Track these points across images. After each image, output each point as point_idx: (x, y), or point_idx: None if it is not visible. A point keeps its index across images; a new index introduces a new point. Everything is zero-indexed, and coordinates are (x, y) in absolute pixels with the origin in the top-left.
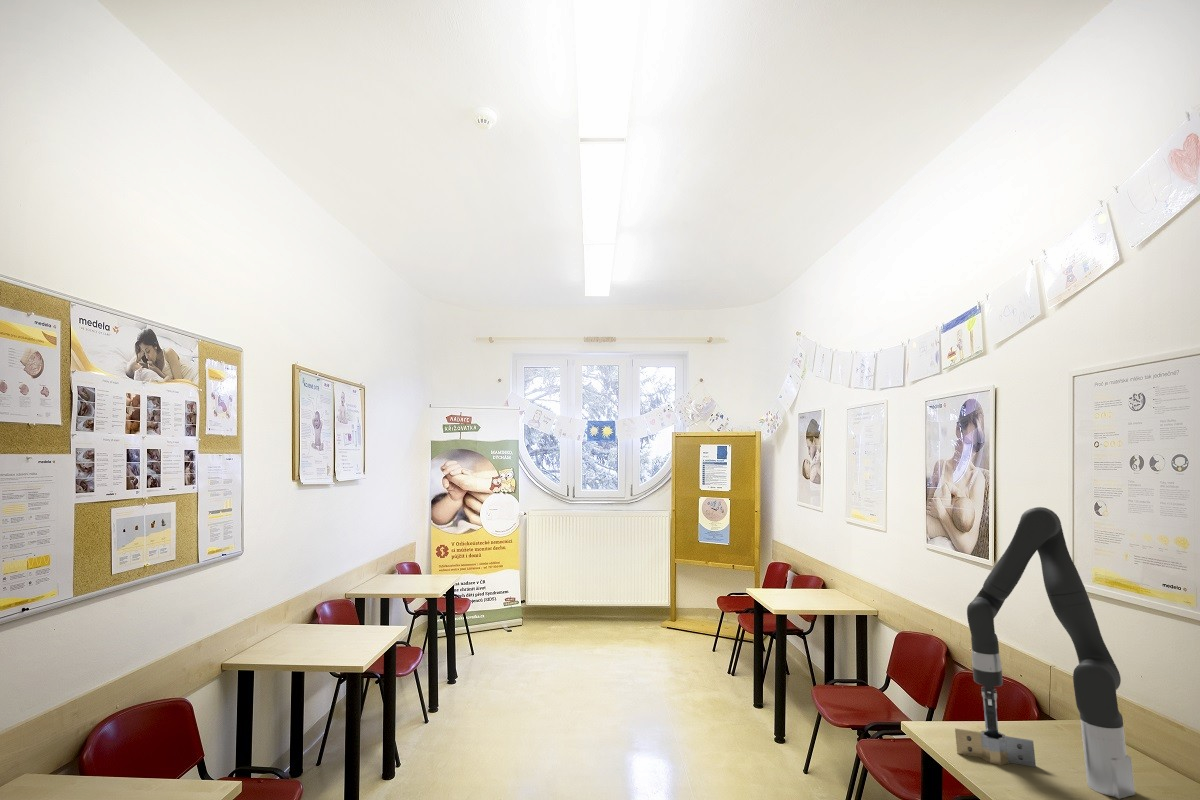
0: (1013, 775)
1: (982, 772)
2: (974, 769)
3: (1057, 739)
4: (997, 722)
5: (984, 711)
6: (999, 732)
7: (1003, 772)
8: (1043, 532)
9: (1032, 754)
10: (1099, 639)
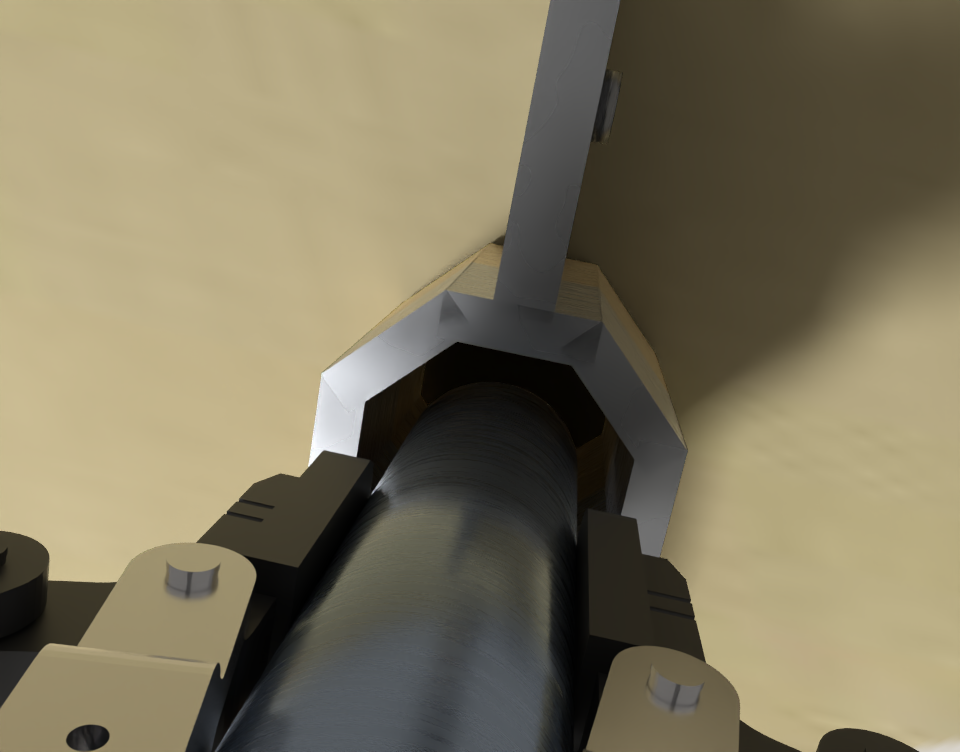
0: (902, 282)
1: (876, 587)
2: (813, 645)
3: None
4: (489, 492)
5: None
6: (350, 354)
7: (837, 372)
8: None
9: None
10: None
